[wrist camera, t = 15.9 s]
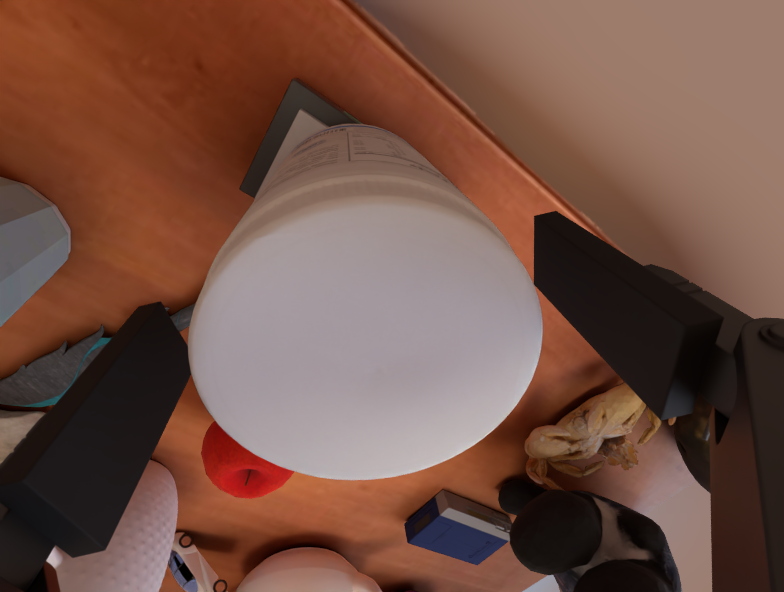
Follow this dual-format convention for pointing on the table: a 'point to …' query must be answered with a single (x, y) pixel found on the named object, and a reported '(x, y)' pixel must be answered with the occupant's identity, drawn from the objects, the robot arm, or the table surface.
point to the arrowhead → (15, 429)
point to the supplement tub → (363, 315)
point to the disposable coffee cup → (28, 244)
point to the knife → (62, 369)
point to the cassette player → (458, 528)
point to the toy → (587, 541)
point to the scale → (291, 131)
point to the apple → (239, 466)
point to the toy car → (192, 567)
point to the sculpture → (695, 441)
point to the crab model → (590, 435)
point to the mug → (129, 543)
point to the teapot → (307, 573)
